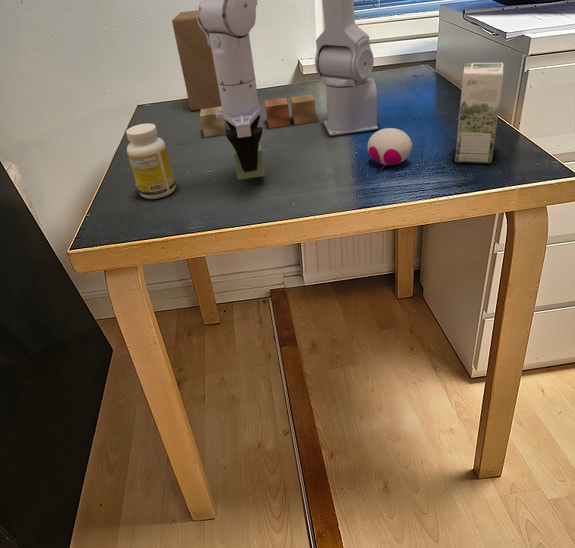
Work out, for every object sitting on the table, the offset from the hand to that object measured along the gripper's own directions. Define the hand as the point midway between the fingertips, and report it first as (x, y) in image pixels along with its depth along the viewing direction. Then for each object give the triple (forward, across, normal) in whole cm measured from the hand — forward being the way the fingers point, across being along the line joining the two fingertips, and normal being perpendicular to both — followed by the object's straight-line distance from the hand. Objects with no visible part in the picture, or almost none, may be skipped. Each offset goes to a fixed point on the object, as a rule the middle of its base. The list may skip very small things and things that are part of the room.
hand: (249, 164), depth 86 cm
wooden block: (+3, -48, -7) cm, 49 cm away
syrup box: (+3, +3, +37) cm, 37 cm away
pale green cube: (+1, 0, 0) cm, 1 cm away
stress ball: (+3, +1, +23) cm, 23 cm away
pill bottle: (+3, -1, -16) cm, 16 cm away
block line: (+3, -27, +3) cm, 27 cm away
